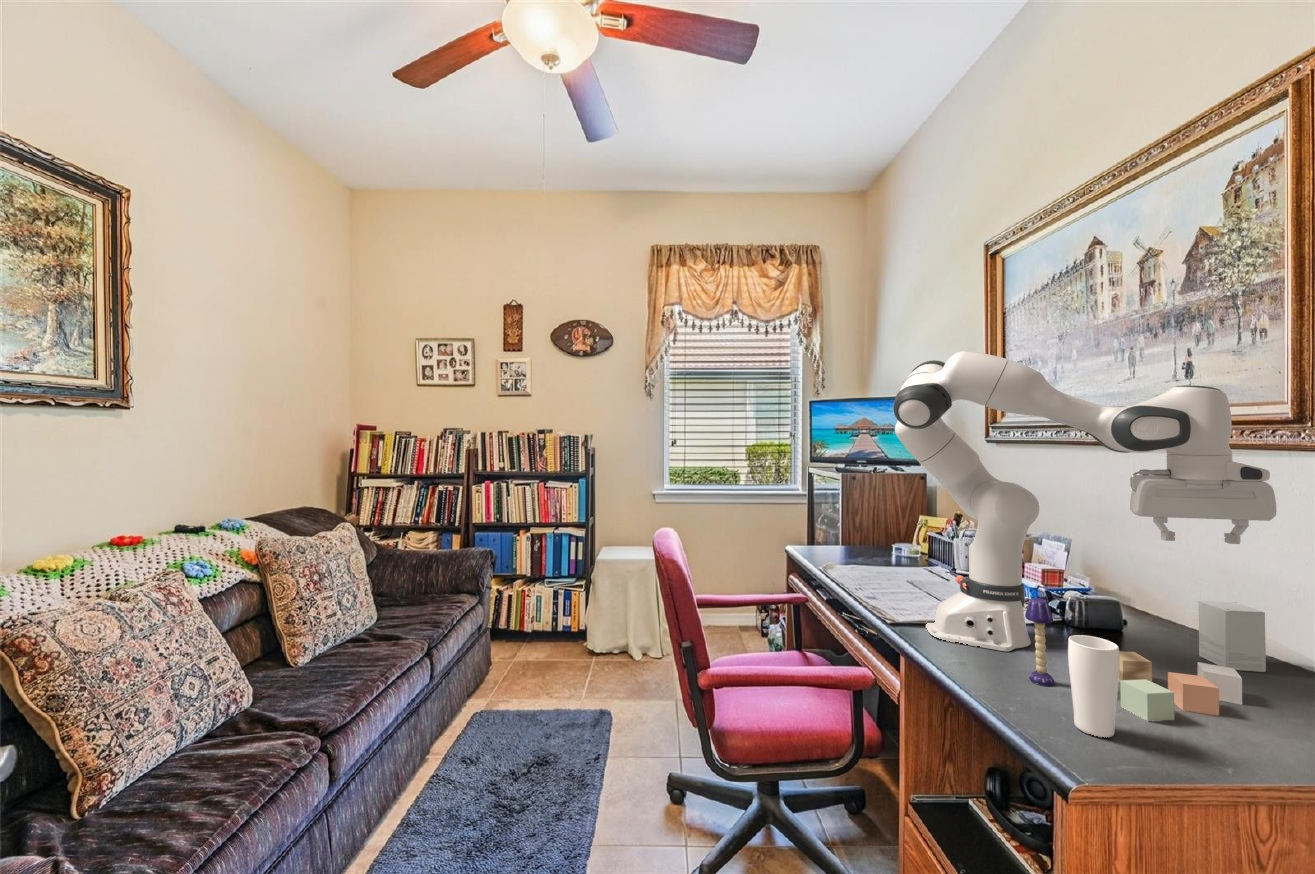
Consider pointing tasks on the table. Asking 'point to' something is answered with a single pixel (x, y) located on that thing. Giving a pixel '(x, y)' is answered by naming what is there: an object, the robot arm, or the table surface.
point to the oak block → (1134, 667)
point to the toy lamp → (1040, 639)
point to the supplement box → (1232, 635)
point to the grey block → (1223, 681)
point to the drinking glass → (1094, 683)
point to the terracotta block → (1194, 693)
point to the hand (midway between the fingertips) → (1199, 541)
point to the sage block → (1147, 700)
